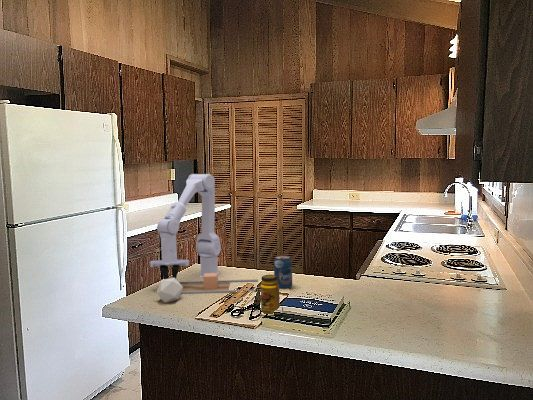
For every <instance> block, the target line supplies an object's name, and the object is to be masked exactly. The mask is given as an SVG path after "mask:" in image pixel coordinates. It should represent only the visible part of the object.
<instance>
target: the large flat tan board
mask: <svg viewBox="0 0 533 400" xmlns="http://www.w3.org/2000/svg"><path fill="white" fill-rule="evenodd" d="M168 277H169V278H173V276H172V275H169V276H168ZM169 278H168V279H169ZM181 285H182V287H183V289H182V291H218V290H229V288H230V285H231V282H229V283H218V287H217V289H204V284H203V283H190V284H181Z"/></svg>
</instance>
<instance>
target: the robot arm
mask: <svg viewBox="0 0 533 400" xmlns="http://www.w3.org/2000/svg"><path fill="white" fill-rule="evenodd" d="M215 180H216V179H215V177H213V175H212V174H210V173H202V174H201V173H191V174H189V175H188V178H187V179H186V181H185V183H186V186H185V188H184V189H183V191H182V193H181V195H180V197H179V199H178V201H177V202H174V203H172V204H171V205H170V208H169V210H168V211H167V213H166V215H165V216H164V217H163V218H162V219H160V220H159V221H158V223H157V226H156V229H157V232H158V233H159V237H160V245H161V247H160V248H161V259H160V260H150V262H149V263H150V264H149V265H150V268H153V267H159V271H160V273H161V274H162V277H163V280H164V279H168V278H169V277H170V276H169V267H171V266H172V267H171V274H172V275H171V276H173V278H175V279H176V280H177V276H178V273H179V271H180V268H181V266H183V267H184V266H185V267H188V266H189V265H190V260H189V259H179V258H178V253H177V252H178V250H177V249H178V246H177V233H178V231H179V229H180V223H181V220H182V219H183V217H184V215H185V214H186V212H187V208H186V206H187V205H188V204H189V202H190V201H191V199H192V198H193V197H194V195H195V194H196V193H198V194H199V195H200V196H201V233H200V234H199V235H198V236H197V237H196V238H197V239H196V243H195V251H196V253H198V256H200V257H199V258H200V261H199V262H200V275H199V277H198V278H202V279H203V276H204V274H205V273H218V276H219V275H220V273H221V271H220V270H219V268H218V256H219V254H220V253H221V250H222V244H221V242H220V241H221V240H220V236H219V235H218V234H216V232H215V223H216V222H215V215H216V214H215V211H216V210H215V207H216V206H215V205H216V200H215V199H216V191H215V188H216V187H215V185H216V184H215V183H216V181H215Z"/></svg>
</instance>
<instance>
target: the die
mask: <svg viewBox="0 0 533 400" xmlns="http://www.w3.org/2000/svg"><path fill="white" fill-rule="evenodd" d="M182 289H183V287H182V285H181V284H180V283H179V282H178V280H177V278H176V279H175V278H169V279H164V278H163V279H161V280H160V281H159V285H158V288H157V290H156V294H157V296H158V297H159V298H160V299H161V300H162V302H164V304H165V303H166V304H168V303H171V302H177V301H178V300H180V297H181V295H182V294H181V292H182ZM180 294H181V295H180Z"/></svg>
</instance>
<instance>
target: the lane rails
mask: <svg viewBox="0 0 533 400" xmlns="http://www.w3.org/2000/svg"><path fill="white" fill-rule="evenodd" d="M177 281H178V280H177ZM178 282H179V283H180V284H196V283H203V280H183V281H182V280H181V281H178ZM258 282H259V279H257V278H256V279H229V280H228V279H223V280H222V279H218V283H258ZM242 290H243V289H230V290H229V289H228V290H218V291H182V292H181V294H180V296H182V295H193V294H194V295H197V294H198V295H199V294H202V295H203V294H204V295H205V294H232V293H233V292H236V291H242ZM244 290H245V291H256V289H244ZM233 294H234V293H233Z"/></svg>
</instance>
